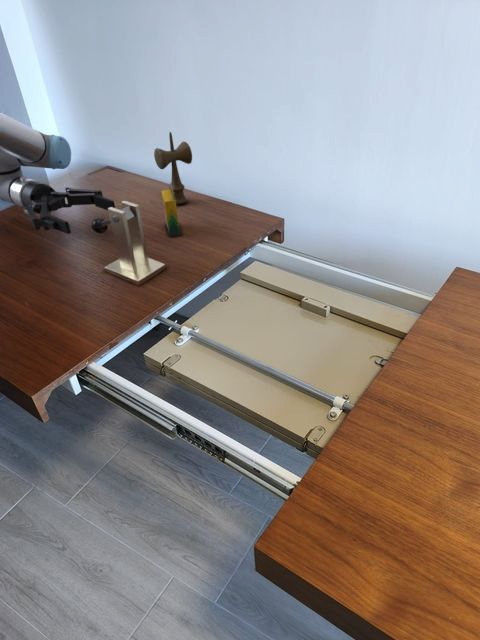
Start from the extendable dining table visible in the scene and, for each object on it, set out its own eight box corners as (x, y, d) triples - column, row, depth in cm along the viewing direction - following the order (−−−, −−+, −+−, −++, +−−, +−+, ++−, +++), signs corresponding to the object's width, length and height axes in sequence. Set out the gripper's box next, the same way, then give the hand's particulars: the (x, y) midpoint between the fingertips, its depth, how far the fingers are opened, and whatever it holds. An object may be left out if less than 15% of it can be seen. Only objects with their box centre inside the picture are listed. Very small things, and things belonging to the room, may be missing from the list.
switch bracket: (105, 271, 111) (89, 207, 101) (132, 255, 117) (120, 193, 107) (139, 285, 107) (126, 220, 97) (166, 268, 113) (156, 205, 102)
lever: (93, 237, 111) (85, 223, 110) (105, 231, 113) (97, 217, 112) (126, 223, 101) (117, 208, 100) (138, 217, 104) (130, 202, 102)
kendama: (197, 201, 142) (191, 131, 128) (168, 210, 137) (159, 137, 124) (187, 195, 145) (180, 126, 132) (159, 203, 141) (149, 132, 128)
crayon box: (166, 224, 130) (160, 183, 122) (176, 223, 131) (171, 182, 123) (169, 237, 125) (163, 194, 117) (180, 235, 125) (175, 193, 118)
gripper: (-17, 198, 109) (41, 221, 100) (70, 166, 124) (128, 184, 115) (-5, 228, 114) (51, 253, 105) (77, 194, 129) (133, 212, 120)
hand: (92, 217), depth 110 cm, fingers open, 13 cm apart
